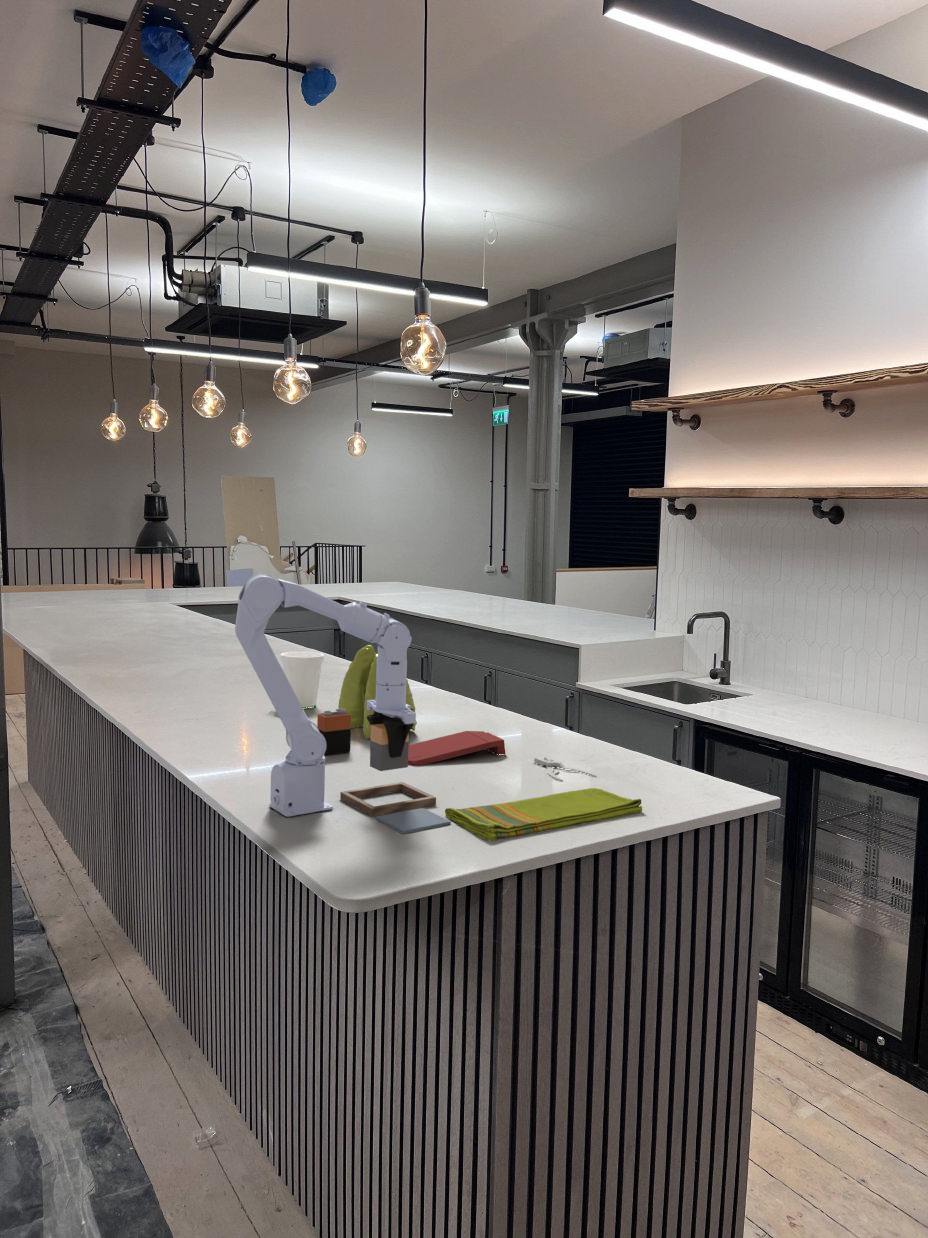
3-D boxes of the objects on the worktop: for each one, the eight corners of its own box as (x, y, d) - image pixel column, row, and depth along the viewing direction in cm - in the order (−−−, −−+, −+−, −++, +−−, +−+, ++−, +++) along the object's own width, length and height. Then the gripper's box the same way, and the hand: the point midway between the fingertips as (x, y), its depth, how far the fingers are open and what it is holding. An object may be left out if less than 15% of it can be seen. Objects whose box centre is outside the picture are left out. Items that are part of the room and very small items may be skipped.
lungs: (427, 737, 225) (429, 642, 223) (372, 743, 217) (374, 645, 214) (381, 718, 246) (383, 631, 244) (329, 723, 237) (331, 633, 235)
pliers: (560, 776, 188) (522, 759, 201) (559, 783, 188) (521, 766, 201) (597, 771, 193) (558, 755, 206) (597, 778, 193) (557, 761, 206)
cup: (315, 712, 251) (316, 658, 249) (273, 709, 252) (273, 655, 251) (328, 703, 263) (329, 652, 261) (288, 701, 265) (289, 650, 263)
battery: (351, 752, 206) (352, 710, 205) (324, 756, 202) (325, 713, 201) (342, 748, 210) (342, 707, 209) (316, 752, 206) (316, 709, 205)
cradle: (372, 817, 160) (372, 808, 160) (340, 799, 170) (340, 792, 170) (435, 805, 169) (436, 797, 169) (402, 789, 178) (402, 782, 178)
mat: (403, 833, 152) (403, 831, 152) (376, 819, 159) (376, 816, 159) (450, 824, 158) (450, 821, 158) (422, 810, 165) (422, 808, 165)
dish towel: (441, 819, 163) (442, 801, 162) (591, 794, 182) (592, 778, 181) (488, 845, 150) (489, 826, 149) (644, 815, 169) (645, 799, 168)
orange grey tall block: (380, 771, 165) (381, 729, 165) (369, 766, 168) (370, 725, 168) (407, 767, 169) (409, 725, 168) (396, 762, 172) (397, 721, 171)
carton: (412, 783, 197) (509, 757, 208) (409, 762, 196) (507, 737, 207) (391, 769, 208) (485, 745, 218) (389, 749, 207) (483, 726, 218)
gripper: (430, 688, 164) (428, 760, 165) (389, 676, 175) (387, 743, 177) (397, 691, 160) (395, 764, 161) (358, 678, 171) (356, 747, 172)
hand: (389, 754), depth 168 cm, fingers closed on orange grey tall block, 4 cm apart
